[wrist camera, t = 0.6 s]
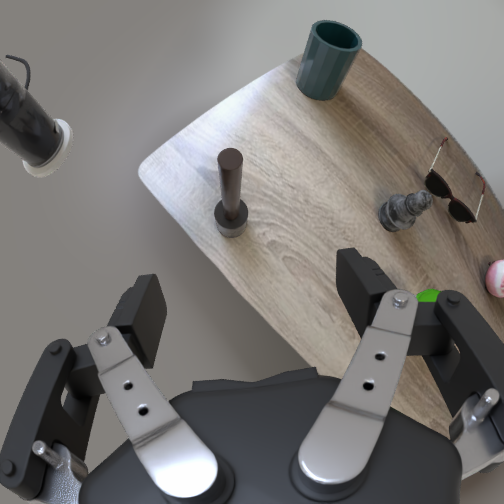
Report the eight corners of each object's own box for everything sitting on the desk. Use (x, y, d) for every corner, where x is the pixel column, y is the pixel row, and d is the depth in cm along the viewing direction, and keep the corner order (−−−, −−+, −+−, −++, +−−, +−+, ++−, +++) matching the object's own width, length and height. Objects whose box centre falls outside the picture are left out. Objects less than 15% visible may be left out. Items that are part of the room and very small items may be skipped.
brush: (210, 225, 44) (190, 163, 22) (229, 203, 44) (226, 126, 23) (233, 243, 44) (234, 195, 22) (252, 221, 44) (269, 155, 22)
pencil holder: (287, 83, 48) (301, 31, 34) (310, 63, 50) (327, 15, 36) (324, 107, 48) (348, 58, 34) (345, 85, 49) (369, 39, 35)
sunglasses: (416, 179, 47) (431, 169, 42) (438, 135, 51) (451, 125, 46) (460, 228, 47) (477, 222, 42) (477, 179, 50) (491, 171, 45)
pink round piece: (475, 285, 45) (499, 282, 38) (485, 253, 47) (509, 248, 39) (493, 304, 45) (516, 304, 38) (502, 273, 46) (525, 270, 39)
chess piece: (409, 213, 46) (450, 193, 34) (397, 240, 45) (440, 225, 33) (384, 193, 46) (422, 167, 34) (371, 220, 45) (409, 199, 34)
